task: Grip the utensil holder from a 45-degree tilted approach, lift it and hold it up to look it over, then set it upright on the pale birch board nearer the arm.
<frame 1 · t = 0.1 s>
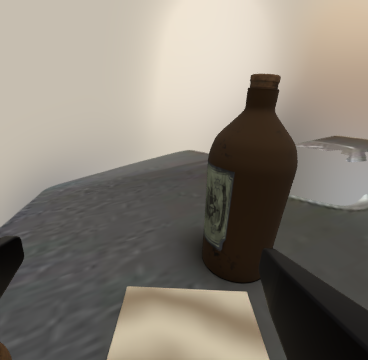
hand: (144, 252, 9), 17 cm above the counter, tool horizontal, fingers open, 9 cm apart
olive oil: (232, 260, 34), on the counter
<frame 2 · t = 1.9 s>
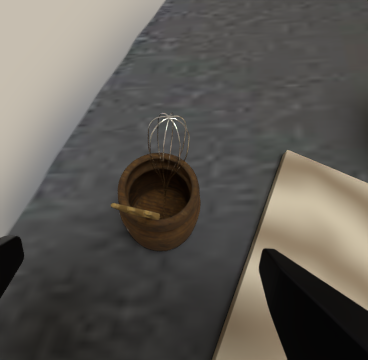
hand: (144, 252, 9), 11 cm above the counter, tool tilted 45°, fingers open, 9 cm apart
birch board: (332, 279, 19), on the counter
utensil holder: (161, 220, 20), on the counter
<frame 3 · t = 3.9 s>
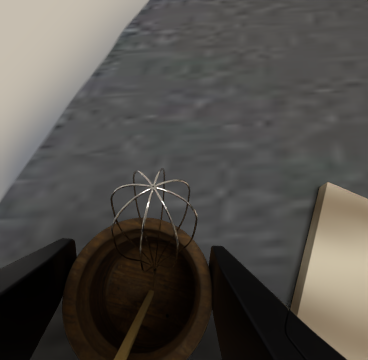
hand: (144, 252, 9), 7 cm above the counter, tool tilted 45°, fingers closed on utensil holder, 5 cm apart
utensil holder: (152, 291, 14), on the counter, touching gripper
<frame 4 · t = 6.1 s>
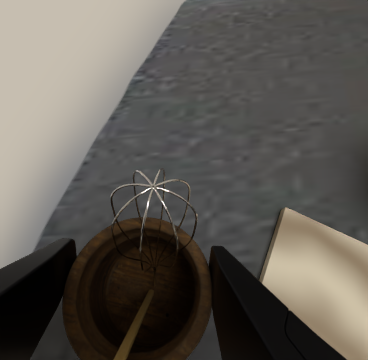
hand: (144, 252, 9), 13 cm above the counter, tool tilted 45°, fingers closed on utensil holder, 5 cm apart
birch board: (329, 351, 19), on the counter
utensil holder: (152, 290, 14), point 6 cm above the counter, touching gripper
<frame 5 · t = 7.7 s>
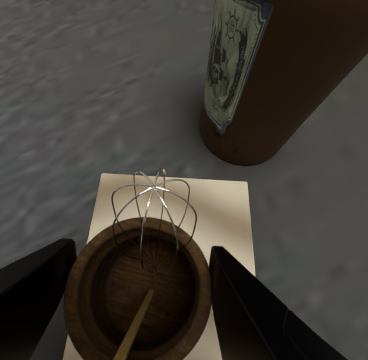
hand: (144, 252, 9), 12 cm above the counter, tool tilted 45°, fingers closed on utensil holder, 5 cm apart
birch board: (168, 293, 19), on the counter
olive oil: (239, 130, 26), on the counter
utensil holder: (152, 290, 14), point 5 cm above the counter, touching gripper
when the fingers open (9 cm above the counter, at t = 8.7 s): utensil holder drops 1 cm, resting on birch board.
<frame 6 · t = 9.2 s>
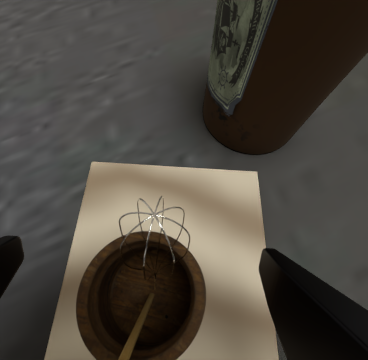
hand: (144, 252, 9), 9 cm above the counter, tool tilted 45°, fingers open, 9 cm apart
birch board: (167, 299, 16), on the counter
olive oil: (246, 117, 24), on the counter
utensil holder: (152, 294, 15), point 1 cm above the counter, touching birch board
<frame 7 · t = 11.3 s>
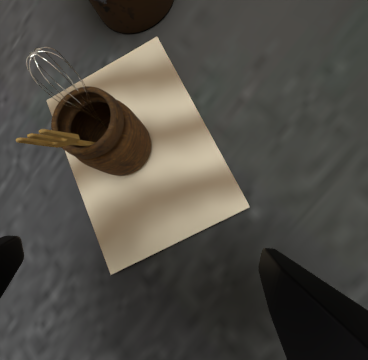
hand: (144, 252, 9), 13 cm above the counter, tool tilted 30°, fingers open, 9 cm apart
birch board: (139, 150, 24), on the counter
olive oil: (136, 0, 27), on the counter
utensil holder: (126, 150, 23), point 1 cm above the counter, touching birch board
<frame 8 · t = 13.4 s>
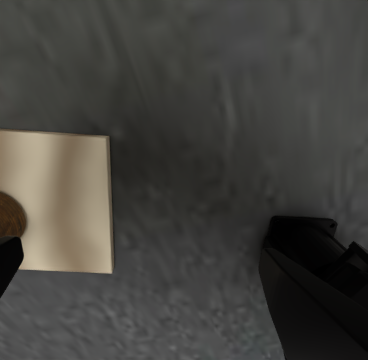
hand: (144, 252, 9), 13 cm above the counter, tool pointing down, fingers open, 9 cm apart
birch board: (6, 202, 22), on the counter
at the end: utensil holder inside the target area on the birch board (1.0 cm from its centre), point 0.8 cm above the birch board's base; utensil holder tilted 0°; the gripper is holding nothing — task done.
